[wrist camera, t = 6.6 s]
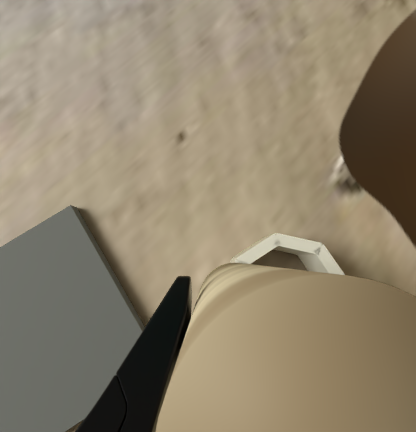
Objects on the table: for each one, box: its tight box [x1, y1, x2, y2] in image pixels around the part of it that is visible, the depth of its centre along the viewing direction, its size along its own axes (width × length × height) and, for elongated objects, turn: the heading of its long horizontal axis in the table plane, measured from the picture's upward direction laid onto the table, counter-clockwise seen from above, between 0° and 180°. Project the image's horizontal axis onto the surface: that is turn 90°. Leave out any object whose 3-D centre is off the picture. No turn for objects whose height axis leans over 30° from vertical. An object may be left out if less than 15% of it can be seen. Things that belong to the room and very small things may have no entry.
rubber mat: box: [0, 205, 145, 432], centre depth 21 cm, size 14×14×1 cm
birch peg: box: [156, 263, 416, 432], centre depth 9 cm, size 4×4×12 cm
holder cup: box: [230, 233, 345, 275], centre depth 20 cm, size 8×8×4 cm
